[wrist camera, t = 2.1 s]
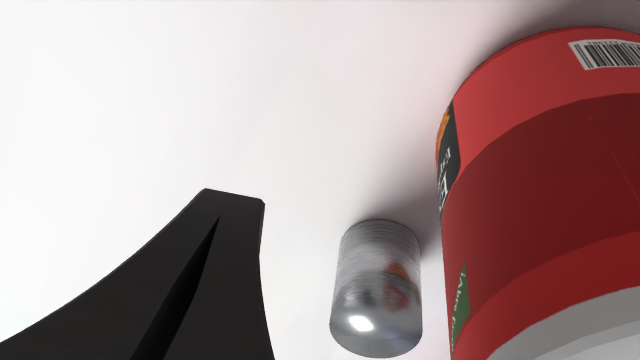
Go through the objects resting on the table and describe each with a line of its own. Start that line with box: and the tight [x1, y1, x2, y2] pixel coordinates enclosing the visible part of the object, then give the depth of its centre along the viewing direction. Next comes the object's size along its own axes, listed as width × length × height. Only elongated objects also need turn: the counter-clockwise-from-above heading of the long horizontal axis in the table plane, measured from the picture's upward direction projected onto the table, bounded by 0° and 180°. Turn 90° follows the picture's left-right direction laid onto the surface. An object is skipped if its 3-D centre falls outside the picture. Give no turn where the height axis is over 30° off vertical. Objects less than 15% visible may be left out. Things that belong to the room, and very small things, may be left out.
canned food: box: [436, 26, 640, 360], centre depth 14 cm, size 8×8×11 cm
